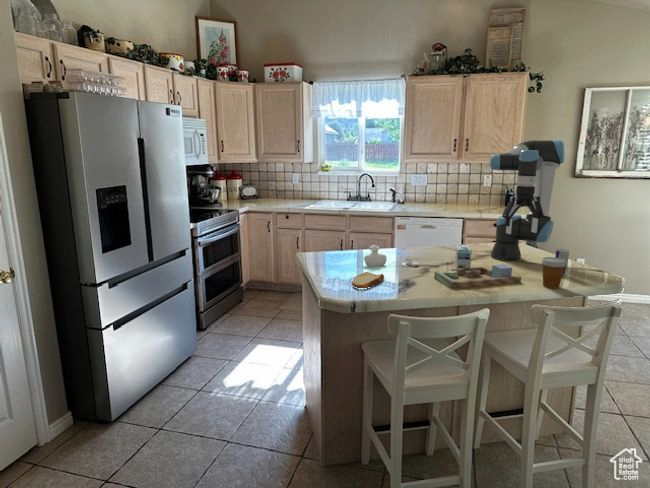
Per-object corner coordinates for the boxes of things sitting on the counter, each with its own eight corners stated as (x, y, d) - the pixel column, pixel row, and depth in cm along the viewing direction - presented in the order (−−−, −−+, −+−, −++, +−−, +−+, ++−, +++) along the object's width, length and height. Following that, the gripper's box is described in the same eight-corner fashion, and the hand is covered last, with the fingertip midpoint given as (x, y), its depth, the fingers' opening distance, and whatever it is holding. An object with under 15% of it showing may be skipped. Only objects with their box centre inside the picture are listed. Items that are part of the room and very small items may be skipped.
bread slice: (356, 291, 185) (356, 283, 184) (343, 279, 201) (343, 271, 201) (395, 287, 189) (395, 279, 189) (379, 276, 206) (379, 268, 205)
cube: (502, 276, 204) (504, 264, 202) (511, 280, 198) (512, 267, 197) (491, 277, 202) (492, 265, 201) (499, 281, 197) (500, 268, 195)
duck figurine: (385, 268, 226) (382, 248, 230) (389, 262, 219) (385, 242, 223) (363, 269, 224) (360, 249, 228) (366, 264, 217) (363, 243, 221)
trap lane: (494, 270, 213) (495, 264, 212) (520, 282, 195) (521, 276, 194) (431, 275, 205) (431, 269, 204) (452, 288, 187) (452, 281, 186)
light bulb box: (470, 271, 211) (472, 250, 209) (456, 271, 213) (457, 249, 210) (468, 265, 222) (469, 245, 219) (454, 265, 223) (455, 244, 221)
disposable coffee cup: (540, 288, 186) (543, 261, 184) (537, 282, 195) (540, 256, 192) (565, 290, 183) (568, 263, 180) (561, 284, 192) (564, 257, 189)
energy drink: (550, 274, 206) (553, 249, 204) (558, 273, 209) (561, 248, 206) (560, 277, 202) (563, 252, 199) (568, 276, 204) (572, 251, 201)
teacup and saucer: (420, 267, 221) (420, 259, 220) (405, 268, 220) (405, 260, 219) (414, 262, 229) (414, 255, 228) (399, 263, 228) (400, 255, 227)
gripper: (506, 186, 187) (502, 235, 191) (556, 185, 192) (550, 233, 197) (496, 185, 194) (492, 232, 199) (544, 184, 199) (539, 230, 204)
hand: (521, 233), depth 198 cm, fingers open, 12 cm apart
